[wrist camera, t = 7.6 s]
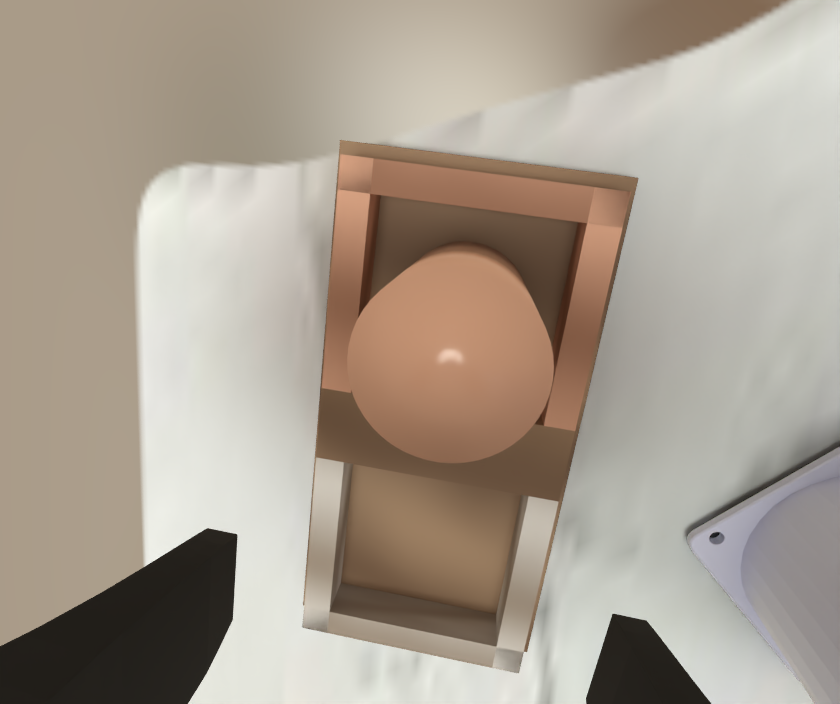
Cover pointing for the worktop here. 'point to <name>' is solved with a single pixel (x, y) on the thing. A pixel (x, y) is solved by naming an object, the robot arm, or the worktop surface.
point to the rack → (453, 482)
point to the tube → (452, 356)
